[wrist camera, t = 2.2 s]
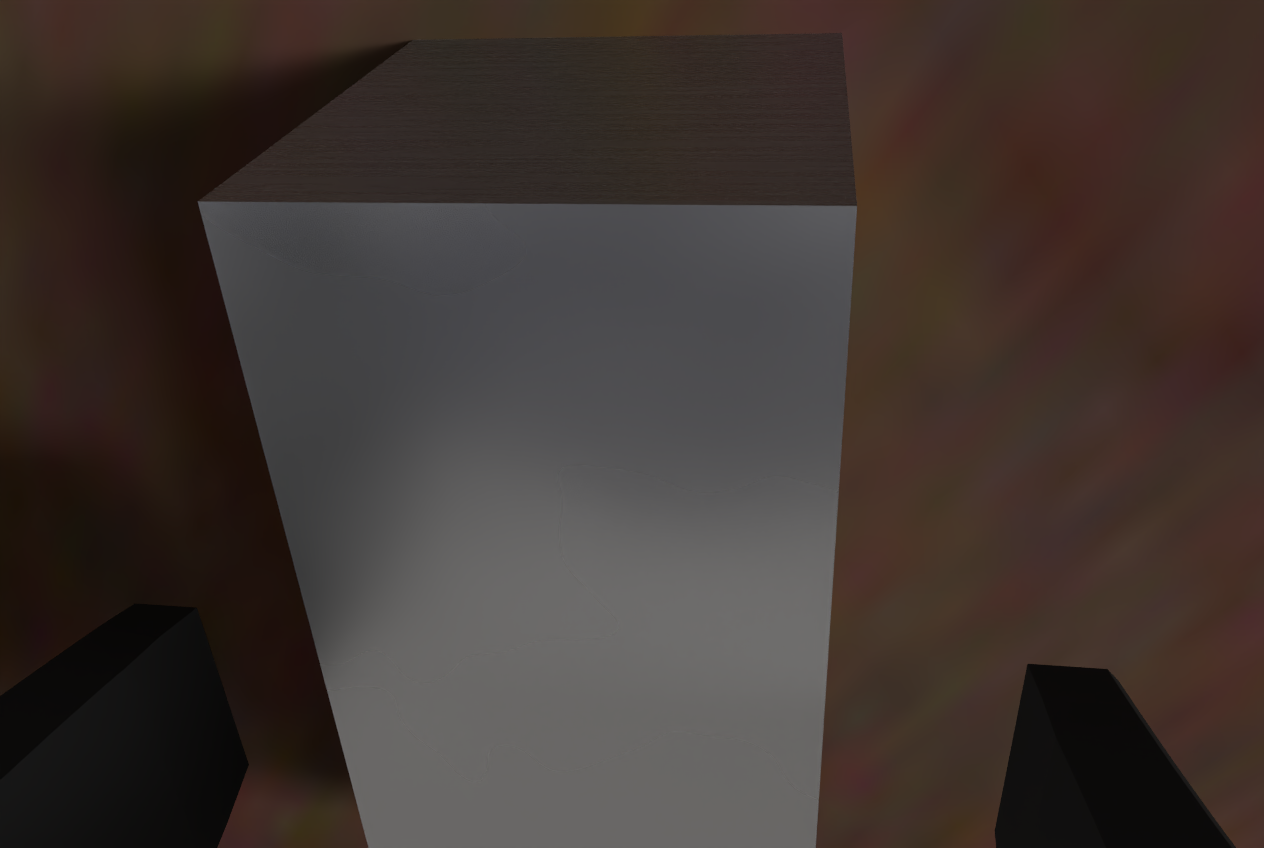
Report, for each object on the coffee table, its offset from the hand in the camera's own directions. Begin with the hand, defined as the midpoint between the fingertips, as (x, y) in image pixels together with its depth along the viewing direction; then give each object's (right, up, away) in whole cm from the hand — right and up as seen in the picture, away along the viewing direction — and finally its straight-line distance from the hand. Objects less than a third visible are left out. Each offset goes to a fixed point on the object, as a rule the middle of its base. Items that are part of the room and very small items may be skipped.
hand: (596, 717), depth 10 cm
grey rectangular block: (0, +2, +3) cm, 4 cm away
